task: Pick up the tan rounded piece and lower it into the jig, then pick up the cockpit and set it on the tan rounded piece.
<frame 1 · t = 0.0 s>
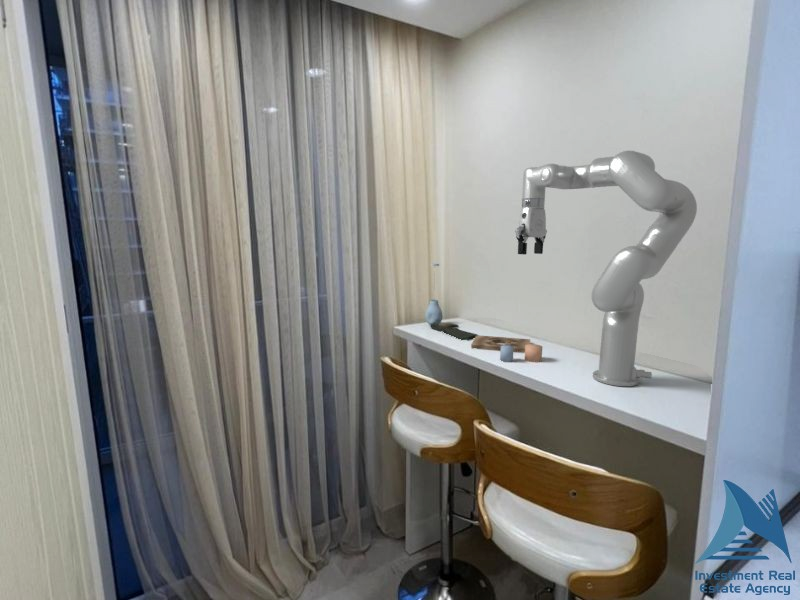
hand: (530, 253, 148), 37 cm above the bar counter, tool pointing down, fingers open, 9 cm apart
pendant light: (433, 325, 203), on the bar counter
firearm: (456, 333, 189), on the bar counter
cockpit: (506, 360, 147), on the bar counter
jig: (501, 345, 167), on the bar counter
tan rounded piece: (533, 359, 148), on the bar counter
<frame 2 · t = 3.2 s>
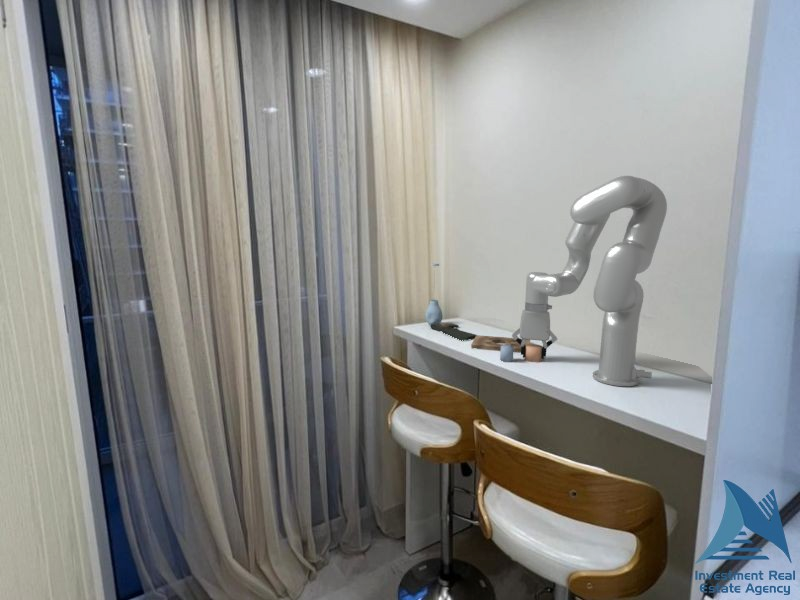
hand: (533, 357, 148), 1 cm above the bar counter, tool pointing down, fingers closed on tan rounded piece, 5 cm apart
tan rounded piece: (533, 359, 148), on the bar counter, touching gripper
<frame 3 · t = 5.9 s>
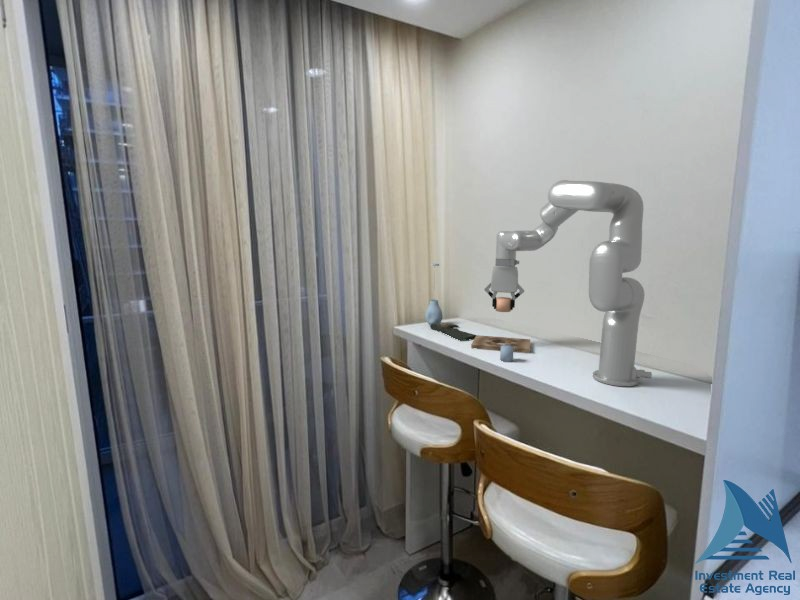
hand: (503, 308, 165), 15 cm above the bar counter, tool pointing down, fingers closed on tan rounded piece, 5 cm apart
tan rounded piece: (503, 310, 165), point 14 cm above the bar counter, touching gripper
when the fingers open (2 cm above the bar counter, at t = 8.6 s): tan rounded piece drops 1 cm, resting in jig.
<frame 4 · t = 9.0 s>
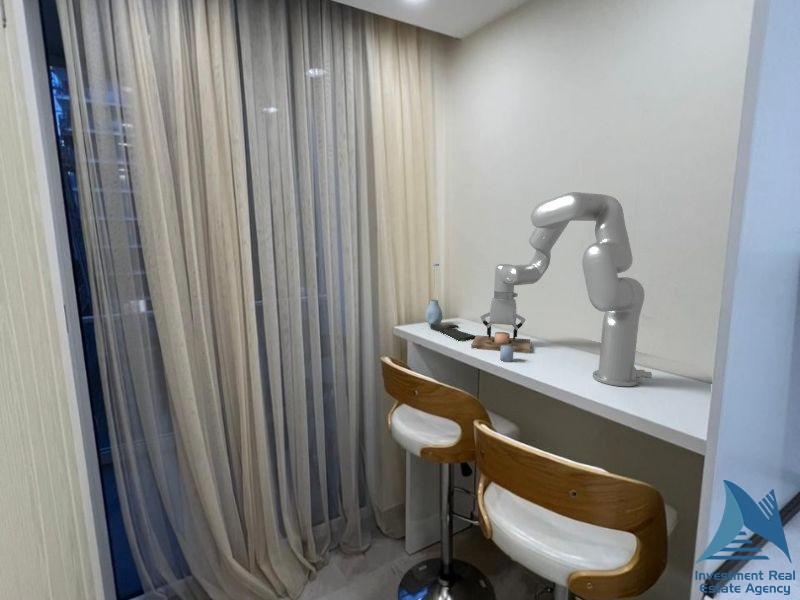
hand: (501, 337, 167), 3 cm above the bar counter, tool pointing down, fingers open, 9 cm apart
tan rounded piece: (501, 345, 167), resting in jig
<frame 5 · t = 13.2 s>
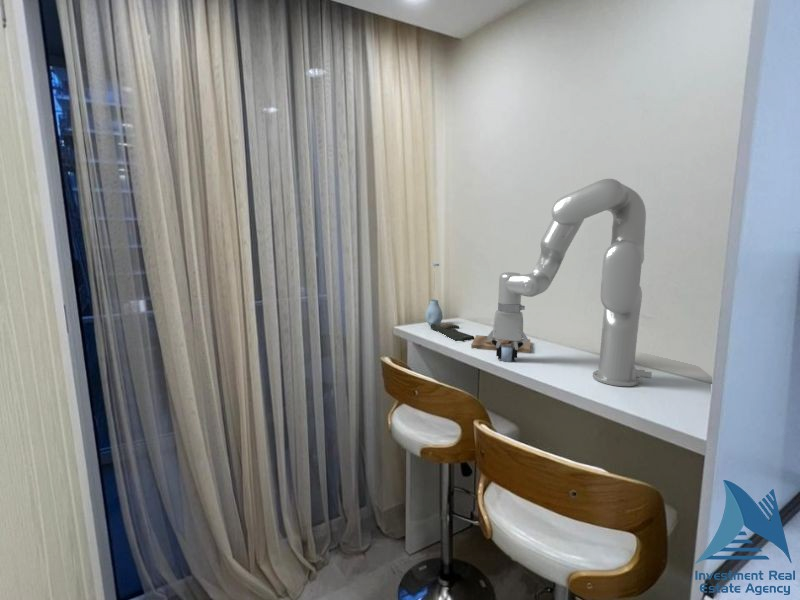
hand: (506, 358, 147), 1 cm above the bar counter, tool pointing down, fingers closed on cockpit, 4 cm apart
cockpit: (506, 360, 147), on the bar counter, touching gripper
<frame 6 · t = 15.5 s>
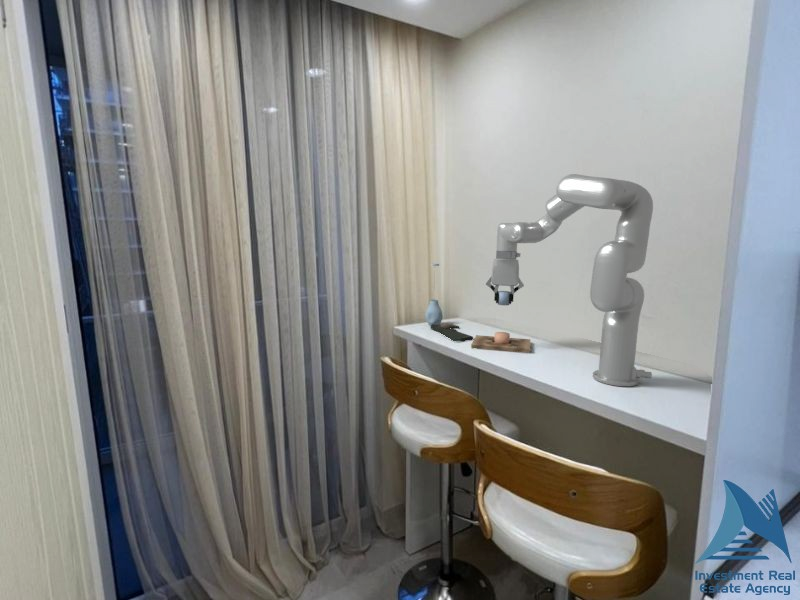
hand: (503, 302, 161), 18 cm above the bar counter, tool pointing down, fingers closed on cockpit, 4 cm apart
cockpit: (503, 304, 161), point 17 cm above the bar counter, touching gripper
when the fingers open (7 cm above the bar counter, at t = 18.1 s): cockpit stays where it is, resting on tan rounded piece.
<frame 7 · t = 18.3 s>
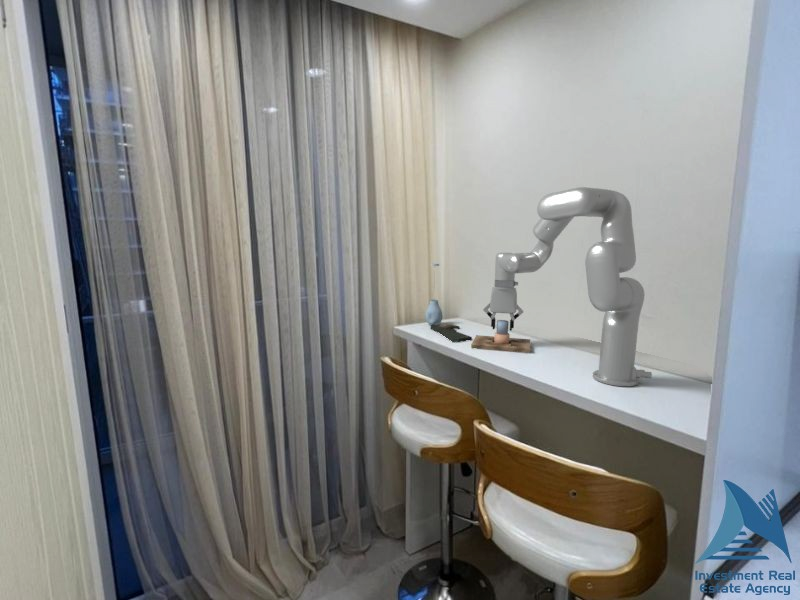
hand: (502, 328, 166), 7 cm above the bar counter, tool pointing down, fingers open, 6 cm apart
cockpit: (502, 333, 166), point 5 cm above the bar counter, touching tan rounded piece
tan rounded piece: (501, 345, 167), resting in jig, touching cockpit
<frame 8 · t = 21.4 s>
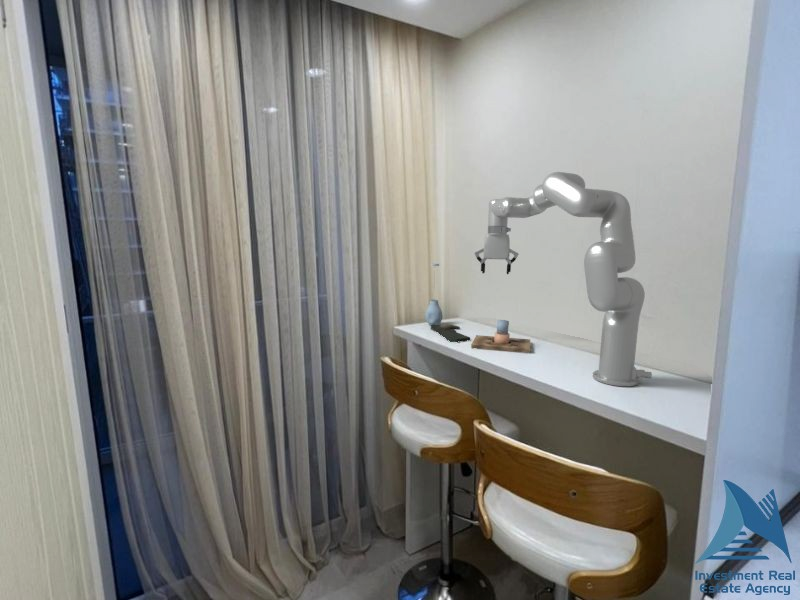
hand: (495, 273, 169), 28 cm above the bar counter, tool pointing down, fingers open, 9 cm apart
at the end: tan rounded piece 0.1 cm off-centre on the jig, point 0.0 cm above the jig's base; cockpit 0.1 cm off-centre on the tan rounded piece, point 5.1 cm above the tan rounded piece's base; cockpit tilted 2° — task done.
